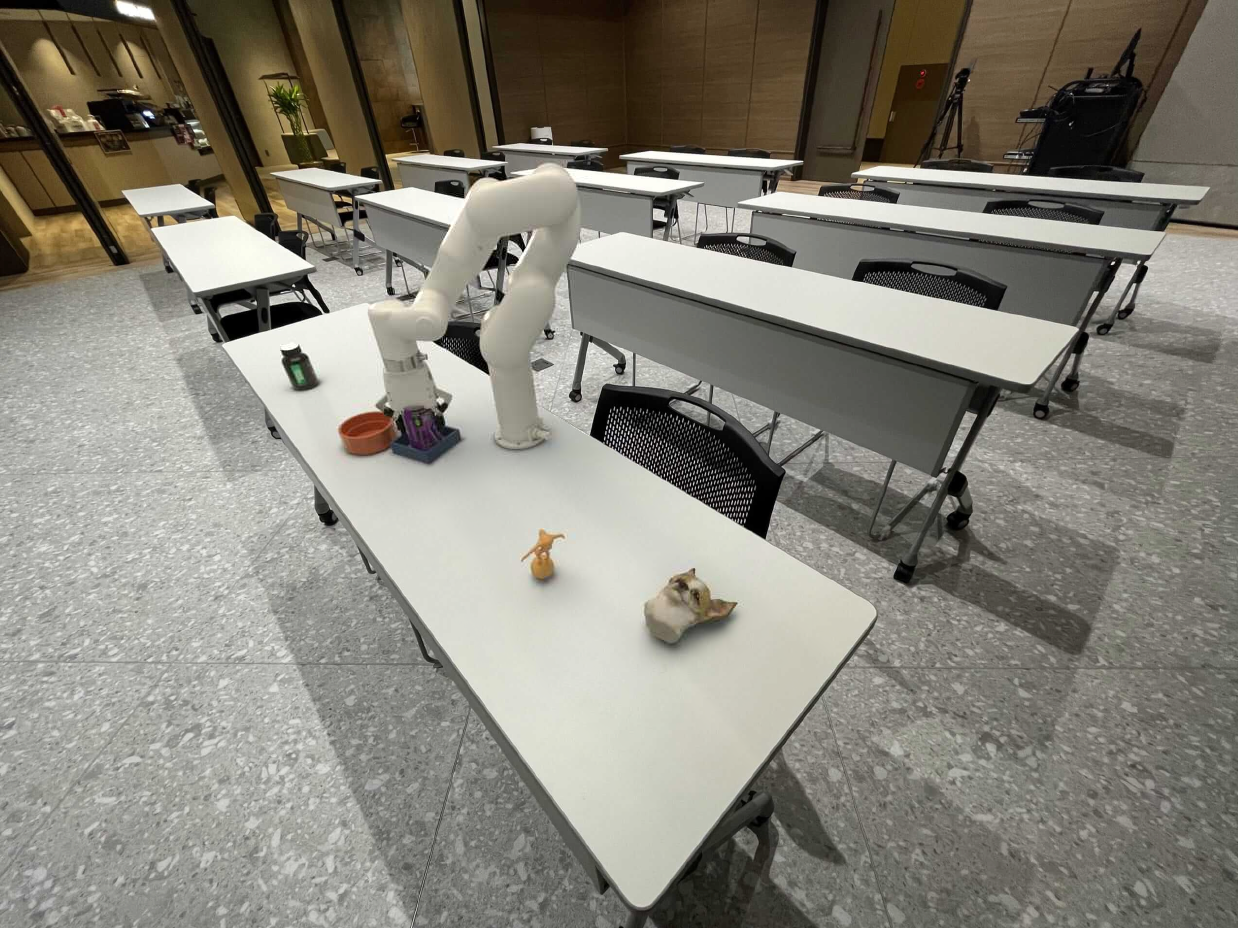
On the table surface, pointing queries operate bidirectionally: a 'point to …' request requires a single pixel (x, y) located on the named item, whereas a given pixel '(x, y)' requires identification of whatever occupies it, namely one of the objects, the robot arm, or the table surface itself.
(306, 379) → the supplement bottle
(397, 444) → the blue square frame
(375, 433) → the bowl
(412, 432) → the beverage can
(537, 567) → the figurine
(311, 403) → the table surface
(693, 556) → the table surface
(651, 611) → the ceramic sculpture
